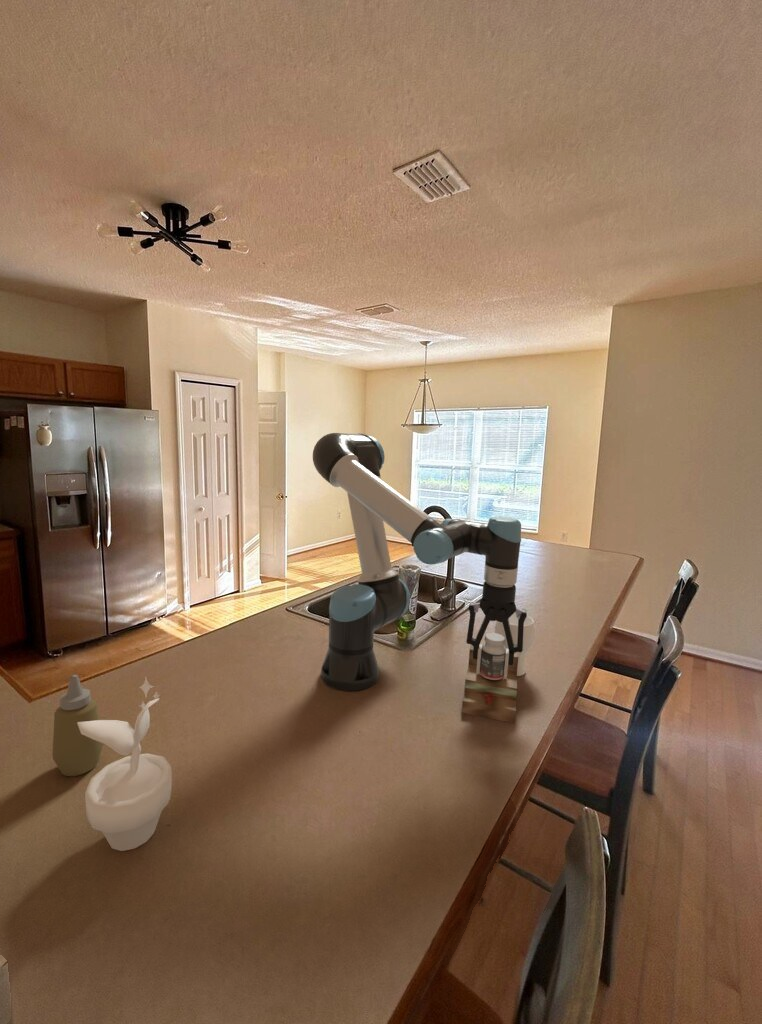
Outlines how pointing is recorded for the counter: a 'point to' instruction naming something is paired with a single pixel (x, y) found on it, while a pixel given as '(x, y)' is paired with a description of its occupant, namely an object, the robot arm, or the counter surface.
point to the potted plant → (127, 782)
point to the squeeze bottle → (75, 731)
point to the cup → (527, 637)
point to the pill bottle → (493, 656)
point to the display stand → (490, 693)
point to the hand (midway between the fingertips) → (491, 673)
